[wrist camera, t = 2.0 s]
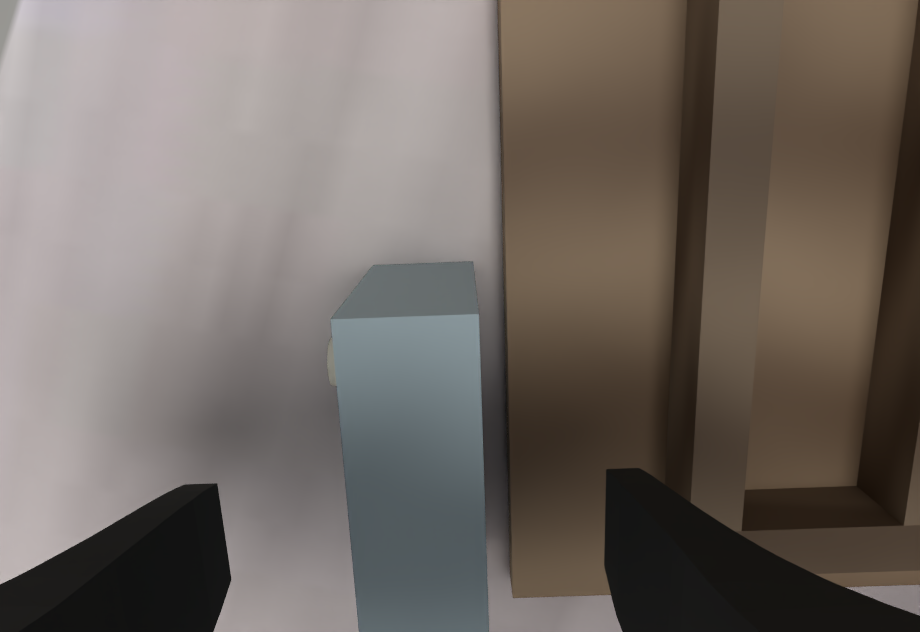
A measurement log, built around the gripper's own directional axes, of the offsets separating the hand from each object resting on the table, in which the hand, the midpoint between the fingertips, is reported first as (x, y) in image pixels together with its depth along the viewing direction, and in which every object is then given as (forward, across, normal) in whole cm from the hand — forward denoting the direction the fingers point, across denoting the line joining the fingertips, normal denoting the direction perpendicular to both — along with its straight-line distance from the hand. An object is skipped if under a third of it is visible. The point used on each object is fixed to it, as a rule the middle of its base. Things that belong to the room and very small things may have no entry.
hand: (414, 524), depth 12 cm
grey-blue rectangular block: (+6, 0, 0) cm, 6 cm away
